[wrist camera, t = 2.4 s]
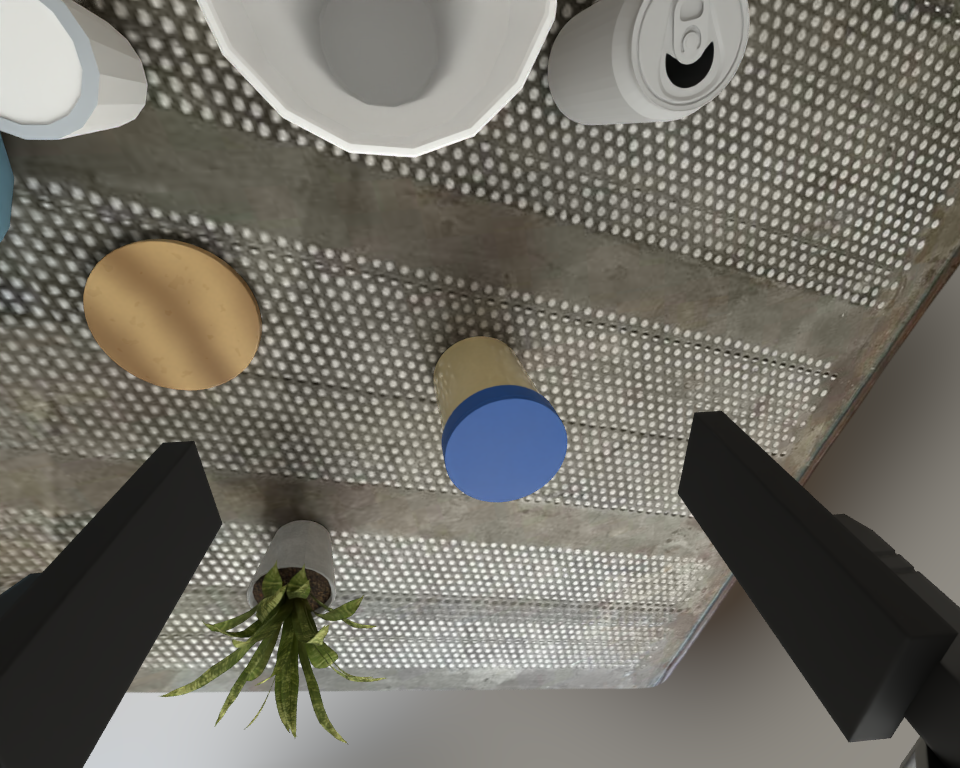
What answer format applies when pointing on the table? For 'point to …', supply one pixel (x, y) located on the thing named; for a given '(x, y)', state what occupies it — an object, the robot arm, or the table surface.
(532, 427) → the jar lid
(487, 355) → the jar
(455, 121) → the cup
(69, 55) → the shot glass
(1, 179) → the vase
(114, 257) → the coaster
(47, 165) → the table surface
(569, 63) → the beverage can
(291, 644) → the house plant
